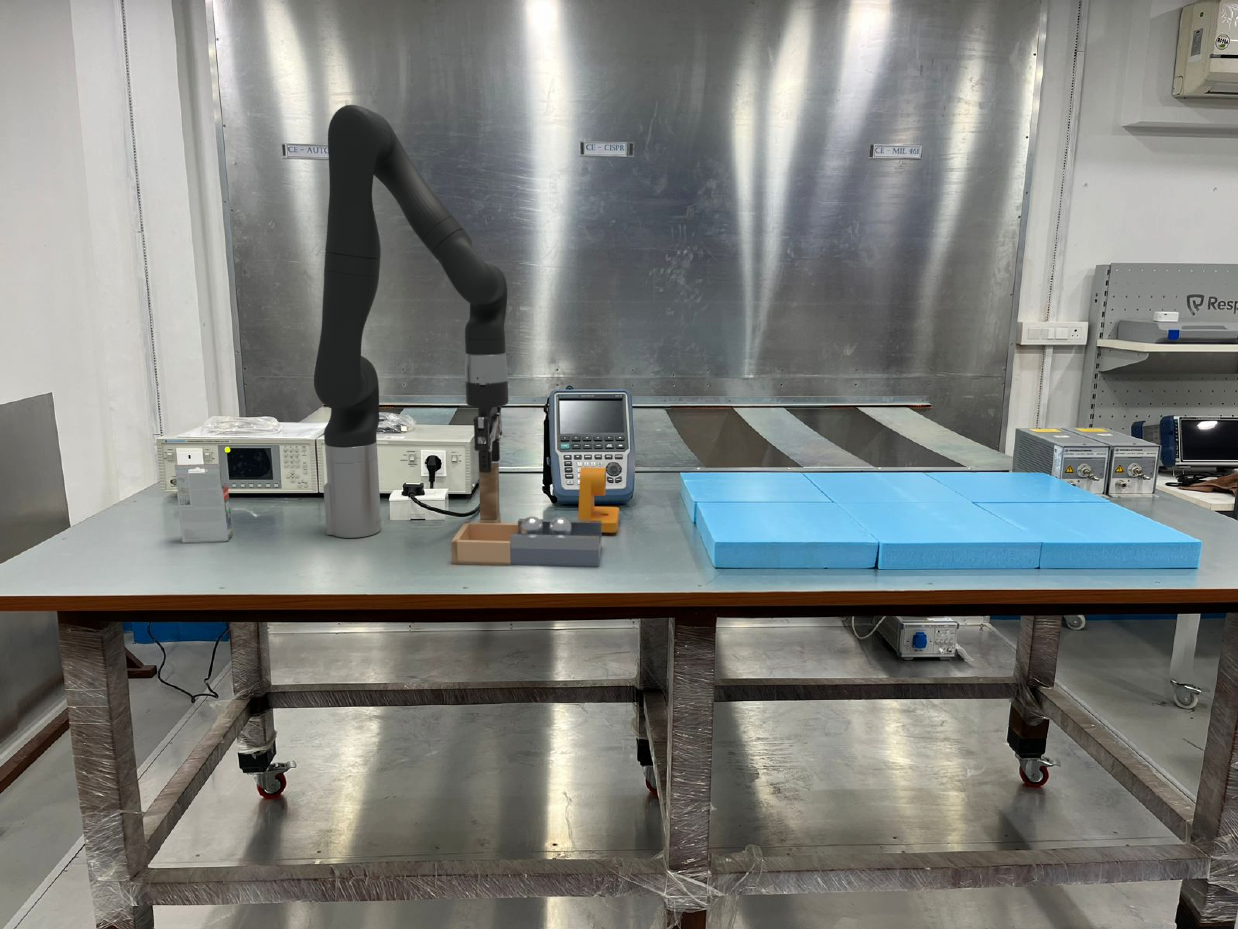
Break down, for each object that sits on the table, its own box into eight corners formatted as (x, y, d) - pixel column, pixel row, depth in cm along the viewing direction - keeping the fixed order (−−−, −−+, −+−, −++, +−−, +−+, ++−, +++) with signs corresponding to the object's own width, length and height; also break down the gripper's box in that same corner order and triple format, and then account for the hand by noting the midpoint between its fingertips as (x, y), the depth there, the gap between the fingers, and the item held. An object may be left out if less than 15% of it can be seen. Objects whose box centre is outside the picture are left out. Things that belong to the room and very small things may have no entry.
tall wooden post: (479, 542, 155) (477, 468, 152) (485, 533, 160) (483, 461, 157) (495, 542, 155) (494, 468, 152) (500, 533, 160) (499, 461, 157)
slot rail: (510, 564, 144) (510, 536, 142) (519, 544, 154) (519, 518, 153) (598, 567, 143) (598, 539, 142) (601, 546, 153) (601, 520, 152)
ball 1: (519, 542, 146) (518, 520, 145) (522, 534, 150) (522, 513, 149) (542, 542, 146) (541, 520, 145) (544, 535, 150) (544, 513, 149)
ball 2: (547, 542, 146) (547, 520, 145) (550, 535, 150) (550, 514, 149) (570, 543, 146) (570, 521, 145) (572, 536, 150) (572, 514, 149)
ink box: (188, 537, 155) (179, 460, 152) (233, 535, 156) (226, 459, 153) (181, 544, 152) (172, 465, 148) (228, 542, 153) (220, 464, 149)
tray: (452, 564, 144) (451, 541, 143) (465, 543, 154) (464, 522, 153) (510, 565, 143) (510, 543, 142) (519, 544, 154) (519, 523, 153)
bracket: (616, 536, 160) (617, 475, 157) (578, 535, 160) (578, 474, 157) (619, 520, 170) (620, 462, 167) (583, 518, 170) (583, 461, 168)
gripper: (473, 373, 158) (476, 457, 161) (457, 384, 144) (461, 476, 148) (513, 373, 157) (515, 458, 161) (500, 384, 144) (503, 476, 147)
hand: (489, 466), depth 154 cm, fingers open, 8 cm apart
